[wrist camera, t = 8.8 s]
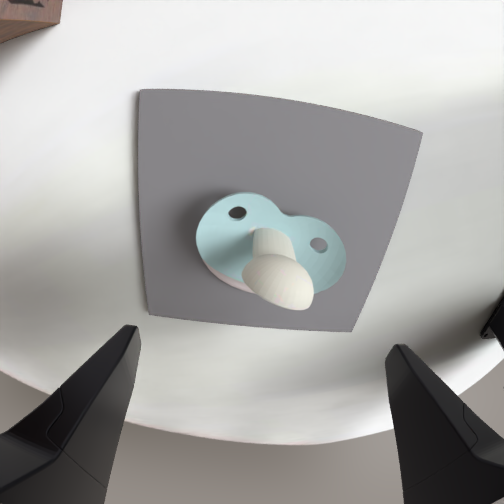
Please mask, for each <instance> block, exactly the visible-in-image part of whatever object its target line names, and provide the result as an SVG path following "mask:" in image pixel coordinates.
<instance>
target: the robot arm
mask: <svg viewBox="0 0 504 504" xmlns="http://www.w3.org/2000/svg"><path fill="white" fill-rule="evenodd" d="M480 336H481V338H482V339H489V338H496V339H497V340H498V342H499V344H500V345H501V347H502V349H503V350H504V298H503V299H502V301H501V303H500V304H499V306H498V308H497V309H496V311H495V312H494V314H493V316H492V317H491V319H490V320H489V322H488V323H487V325H486V326H485V328H484V329H483V331H482V332H481V334H480ZM140 350H141V340H140V334H139V329H138V327H137V326H134V325H125V326H123V327H122V328H121V329H120V330H119V331H118V332H117V333H116V334H115V335H114V336H113V337H112V338H111V339H109V340H108V341H107V342H106V343H105V344H104V345H103V346H102V347H101V348H100V349H99V350H98V351H97V352H96V353H94V354H93V355H92V356H91V357H90V358H89V359H88V360H87V361H86V362H85V363H84V364H83V365H82V366H81V367H80V368H79V369H78V370H77V371H76V372H74V373H73V374H72V375H71V376H70V377H69V378H68V379H67V380H66V381H65V382H64V383H63V384H62V385H61V386H60V388H58V389H57V390H56V391H55V392H54V393H53V394H52V395H50V396H49V397H48V398H47V399H46V400H45V401H44V402H43V403H42V404H40V405H39V406H38V407H37V408H36V409H34V410H33V411H32V412H31V413H29V414H28V415H27V416H25V417H24V418H23V419H22V420H20V421H19V422H18V423H16V424H15V425H14V426H13V427H11V428H10V429H9V430H7V431H5V432H4V433H1V434H0V504H104V501H105V496H106V492H107V487H108V483H109V478H110V474H111V470H112V465H113V461H114V457H115V453H116V449H117V445H118V442H119V438H120V434H121V430H122V427H123V422H124V419H125V416H126V412H127V409H128V405H129V402H130V398H131V395H132V391H133V388H134V383H135V377H136V371H137V366H138V360H139V355H140ZM385 368H386V377H387V387H388V397H389V403H390V409H391V414H392V419H393V425H394V430H395V437H396V443H397V449H398V456H399V463H400V471H401V479H402V487H403V498H404V504H504V439H503V438H502V437H501V436H499V435H498V434H497V433H496V432H495V431H494V430H493V429H492V428H490V427H489V426H488V425H487V424H486V423H484V422H483V421H482V420H481V419H480V418H479V417H478V416H477V415H476V414H475V413H474V412H473V411H472V410H471V409H470V408H469V407H468V406H467V405H466V404H465V403H463V401H462V400H461V399H460V398H459V397H458V396H457V395H456V394H455V393H454V392H453V391H452V390H451V389H450V388H449V387H448V386H447V385H446V384H445V383H444V382H443V381H442V380H441V379H440V378H439V377H438V376H437V375H436V374H435V373H434V372H433V371H432V370H431V369H430V368H429V367H428V366H427V365H426V364H425V363H424V362H423V361H422V360H421V359H420V358H419V357H418V356H417V355H416V354H415V353H414V352H413V351H412V350H411V349H410V348H409V347H408V346H407V345H405V344H395V345H394V346H393V348H392V349H391V351H390V352H389V354H388V356H387V357H386V360H385Z"/></svg>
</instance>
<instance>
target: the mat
mask: <svg viewBox="0 0 504 504" xmlns="http://www.w3.org/2000/svg"><path fill="white" fill-rule="evenodd" d="M422 135H423V133H422V132H420V131H418V130H415V129H411V128H408V127H405V126H402V125H398V124H395V123H392V122H388V121H385V120H381V119H377V118H374V117H370V116H366V115H362V114H358V113H354V112H349V111H345V110H341V109H336V108H331V107H327V106H322V105H316V104H311V103H306V102H300V101H294V100H288V99H281V98H274V97H267V96H259V95H251V94H242V93H231V92H219V91H204V90H183V89H142V90H140V98H139V123H138V187H139V213H140V231H141V245H142V257H143V268H144V278H145V287H146V296H147V304H148V312H149V315H155V316H162V317H169V318H177V319H184V320H193V321H201V322H210V323H219V324H229V325H240V326H251V327H263V328H277V329H291V330H309V331H330V332H352V330H353V328H354V326H355V323H356V321H357V319H358V317H359V315H360V313H361V310H362V308H363V306H364V304H365V301H366V299H367V297H368V294H369V292H370V290H371V287H372V285H373V283H374V280H375V278H376V275H377V273H378V270H379V268H380V265H381V263H382V260H383V258H384V255H385V253H386V250H387V247H388V245H389V242H390V239H391V237H392V234H393V231H394V228H395V225H396V222H397V220H398V217H399V214H400V211H401V208H402V205H403V202H404V199H405V195H406V192H407V189H408V186H409V182H410V179H411V176H412V172H413V169H414V165H415V162H416V158H417V154H418V151H419V147H420V143H421V139H422ZM239 192H252V193H257V194H260V195H263V196H264V197H266V198H268V199H269V200H271V201H272V202H273V203H274V204H275V205H276V206H277V207H278V208H279V210H280V211H281V212H282V213H283V214H286V215H306V216H311V217H314V218H317V219H319V220H321V221H323V222H325V223H327V224H328V225H329V226H330V227H331V228H332V229H333V230H334V231H335V232H336V233H337V234H338V236H339V237H340V239H341V241H342V243H343V245H344V248H345V252H346V265H345V269H344V272H343V274H342V276H341V277H340V278H339V280H338V281H337V282H336V283H335V284H334V285H333V286H331V287H329V288H328V289H326V290H323V291H320V292H319V293H315V294H314V296H313V300H312V303H311V305H310V307H309V308H307V309H305V310H290V309H286V308H282V307H280V306H277V305H274V304H272V303H270V302H268V301H266V300H264V299H263V298H261V297H260V296H258V295H257V294H254V293H250V292H246V291H243V290H240V289H238V288H235V287H233V286H230V285H229V284H227V283H225V282H224V281H222V280H220V279H219V278H218V277H217V276H215V275H214V274H213V273H212V272H211V271H210V270H209V269H208V267H207V266H206V264H205V263H204V261H203V260H202V257H201V255H200V253H199V251H198V247H197V243H196V233H197V228H198V226H199V223H200V220H201V219H202V217H203V215H204V214H205V212H206V211H207V210H208V209H209V208H210V206H212V205H213V204H214V203H215V202H217V201H218V200H220V199H221V198H223V197H225V196H227V195H230V194H234V193H239ZM246 212H247V211H246V209H245V208H243V207H240V206H237V207H234V208H232V209H231V210H230V211H229V212H228V214H229V216H230V217H232V218H234V219H238V218H241V217H242V216H244V215H245V214H246ZM310 246H311V247H312V248H313V249H315V250H323V249H325V248H326V246H327V242H326V241H325V240H324V239H322V238H318V237H317V238H314V239H312V240H311V242H310Z"/></svg>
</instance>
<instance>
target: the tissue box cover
mask: <svg viewBox="0 0 504 504" xmlns="http://www.w3.org/2000/svg"><path fill="white" fill-rule="evenodd" d="M62 2H63V0H0V43H3V42H5V41H8V40H10V39H13V38H15V37H18V36H21V35H24V34H27V33H30V32H33V31H36V30H39V29H42V28H45V27H48V26H52V25H55V24H59V23H60V17H61V9H62Z"/></svg>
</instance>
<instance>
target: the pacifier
mask: <svg viewBox="0 0 504 504" xmlns="http://www.w3.org/2000/svg"><path fill="white" fill-rule="evenodd" d="M237 206H240V207H243V208H245V209H246V211H247V212H246V214H245V215H244V216H242V217H241V218H238V219H234V218H232V217H230V216H229V214H228V212H229V211H230V210H231V209H232V208H234V207H237ZM317 237H318V238H322V239H324V240H325V241H326V242H327V246H326V248H325V249H323V250H315V249H313V248H312V247H311V246H310V242H311V240H312V239H314V238H317ZM196 243H197V247H198V251H199V253H200V255H201V257H202V260H203V261H204V263H205V264H206V266H207V267H208V269H209V270H210V271H211V272H212V273H213V274H214V275H215V276H217V277H218V278H219V279H220V280H222V281H224V282H225V283H227V284H229V285H230V286H233V287H235V288H238V289H240V290H243V291H246V292H250V293H254V294H257V295H258V296H260V297H261V298H263V299H264V300H266V301H268V302H270V303H272V304H274V305H277V306H280V307H282V308H286V309H290V310H305V309H307V308H309V307H310V305H311V303H312V300H313V296H314V294H315V293H319V292H320V291H323V290H326V289H328V288H329V287H331V286H333V285H334V284H335V283H336V282H337V281H338V280H339V278H340V277H341V276H342V274H343V272H344V269H345V265H346V252H345V248H344V245H343V243H342V241H341V239H340V237H339V236H338V234H337V233H336V232H335V231H334V230H333V229H332V228H331V227H330V226H329V225H328V224H327V223H325V222H323V221H321V220H319V219H317V218H314V217H311V216H306V215H286V214H283V213H282V212H281V211H280V210H279V208H278V207H277V206H276V205H275V204H274V203H273V202H272V201H271V200H269V199H268V198H266V197H264V196H263V195H260V194H257V193H252V192H239V193H234V194H230V195H227V196H225V197H223V198H221V199H220V200H218V201H217V202H215V203H214V204H213V205H212V206H210V208H209V209H208V210H207V211H206V212H205V214H204V215H203V217H202V219H201V220H200V223H199V226H198V228H197V233H196Z"/></svg>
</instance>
